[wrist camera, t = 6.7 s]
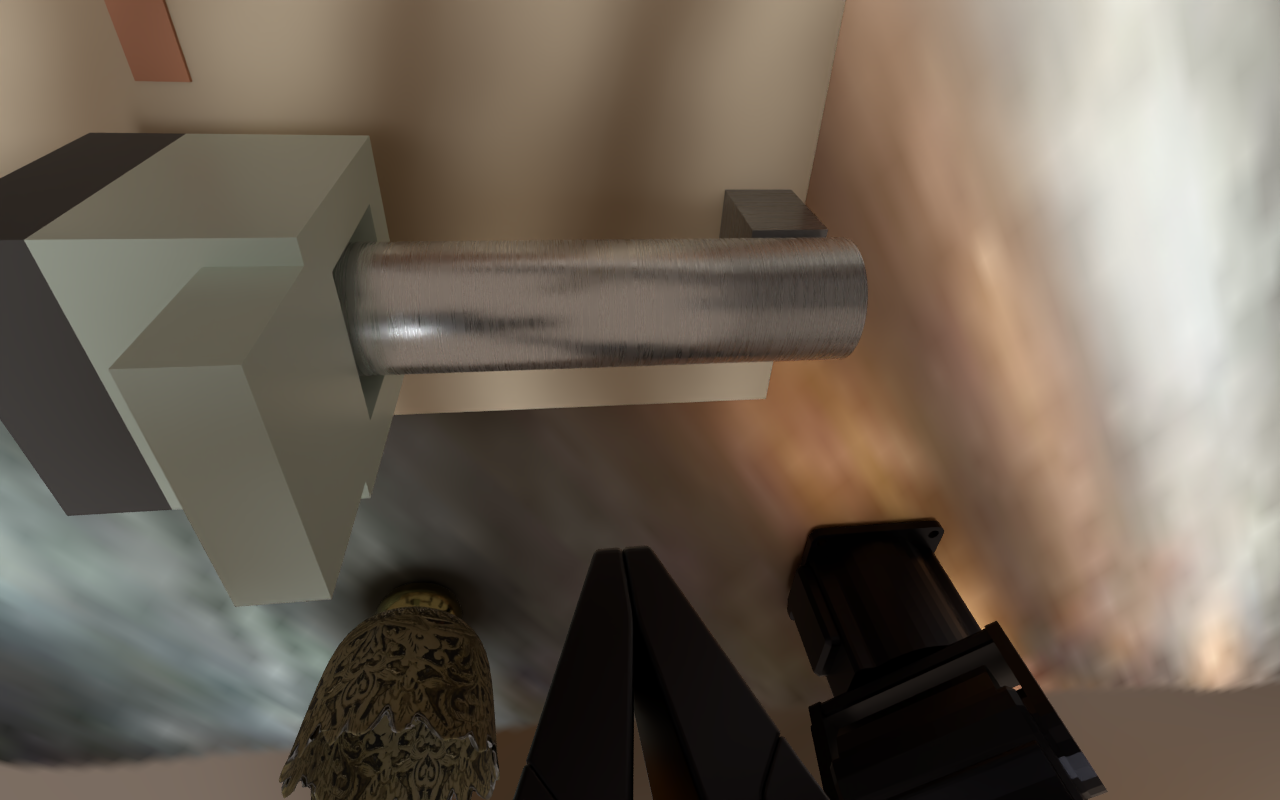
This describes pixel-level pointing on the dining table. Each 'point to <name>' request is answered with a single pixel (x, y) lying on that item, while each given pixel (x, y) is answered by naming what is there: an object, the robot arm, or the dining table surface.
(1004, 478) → the dining table surface
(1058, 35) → the dining table surface
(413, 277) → the steel pipe
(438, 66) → the base board
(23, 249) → the rubber collar
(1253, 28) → the dining table surface
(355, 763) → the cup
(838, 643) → the robot arm
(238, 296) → the sleeve
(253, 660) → the dining table surface
